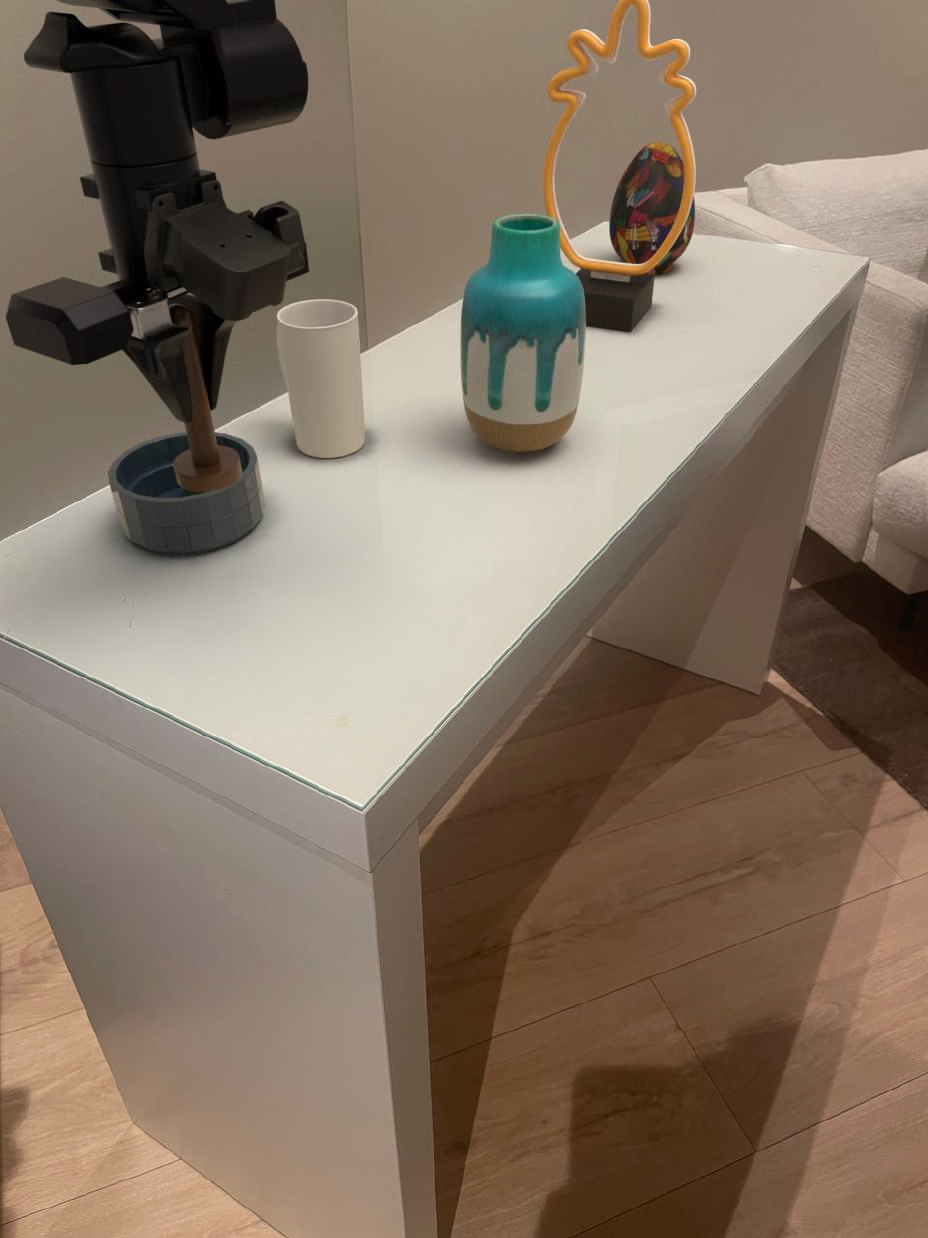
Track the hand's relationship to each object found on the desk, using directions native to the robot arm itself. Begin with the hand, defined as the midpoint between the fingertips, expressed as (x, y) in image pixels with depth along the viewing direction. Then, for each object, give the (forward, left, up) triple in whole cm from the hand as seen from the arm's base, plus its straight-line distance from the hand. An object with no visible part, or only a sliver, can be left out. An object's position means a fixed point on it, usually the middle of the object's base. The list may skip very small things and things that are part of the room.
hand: (196, 414), depth 62 cm
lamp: (-1, +63, -13) cm, 64 cm away
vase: (+7, +30, -13) cm, 34 cm away
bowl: (-8, +4, -13) cm, 16 cm away
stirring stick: (0, 0, -5) cm, 5 cm away
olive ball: (-9, +7, -11) cm, 16 cm away
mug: (-9, +21, -13) cm, 26 cm away
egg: (-4, +81, -13) cm, 82 cm away
